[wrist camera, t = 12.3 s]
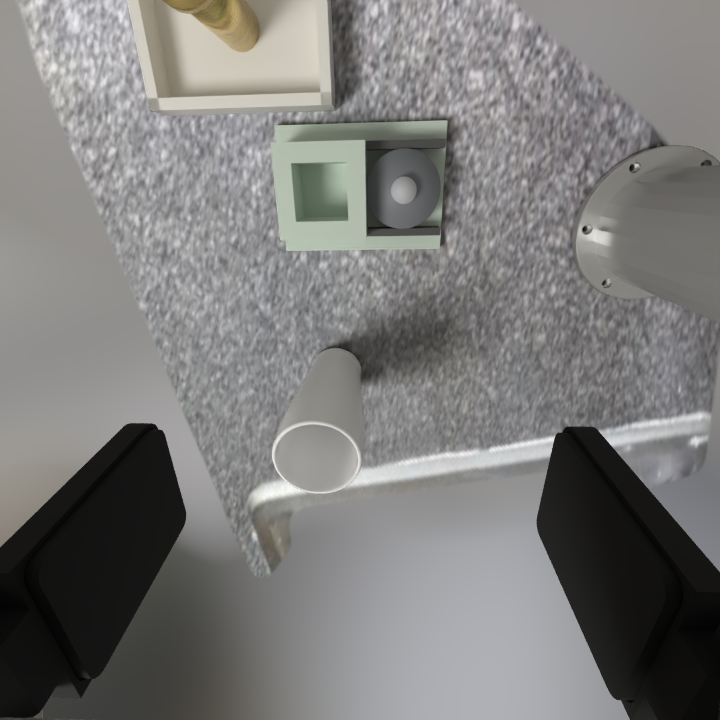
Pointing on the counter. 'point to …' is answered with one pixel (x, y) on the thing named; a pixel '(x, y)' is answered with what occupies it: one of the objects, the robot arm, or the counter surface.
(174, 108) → the tray
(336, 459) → the drinking glass
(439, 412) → the counter surface
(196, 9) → the pin
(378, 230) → the green socket holder
